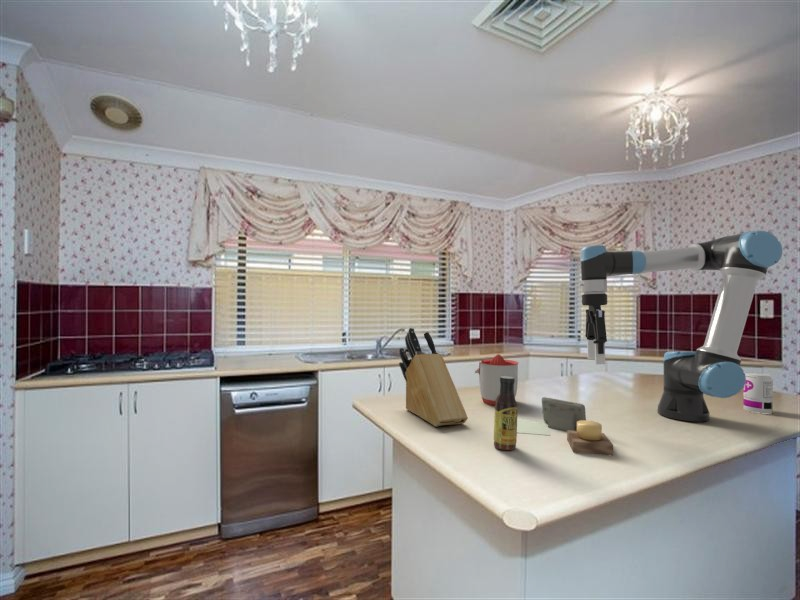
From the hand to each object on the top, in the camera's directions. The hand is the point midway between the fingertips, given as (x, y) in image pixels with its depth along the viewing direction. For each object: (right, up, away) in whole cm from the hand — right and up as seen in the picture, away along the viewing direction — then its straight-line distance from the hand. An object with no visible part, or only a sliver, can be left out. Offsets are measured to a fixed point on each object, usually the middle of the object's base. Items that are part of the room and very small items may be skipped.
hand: (596, 361), depth 131 cm
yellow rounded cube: (-11, -19, -17) cm, 28 cm away
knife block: (-54, -22, +15) cm, 60 cm away
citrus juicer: (-25, -22, +32) cm, 46 cm away
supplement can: (+69, -23, +18) cm, 75 cm away
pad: (-22, -22, +2) cm, 31 cm away
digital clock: (-11, -22, 0) cm, 24 cm away
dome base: (-11, -22, -17) cm, 30 cm away
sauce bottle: (-34, -22, -18) cm, 44 cm away
